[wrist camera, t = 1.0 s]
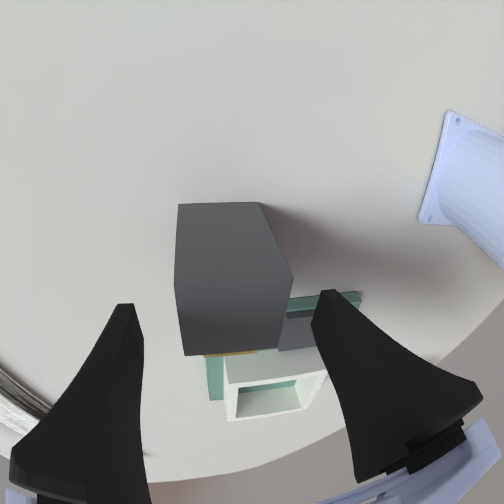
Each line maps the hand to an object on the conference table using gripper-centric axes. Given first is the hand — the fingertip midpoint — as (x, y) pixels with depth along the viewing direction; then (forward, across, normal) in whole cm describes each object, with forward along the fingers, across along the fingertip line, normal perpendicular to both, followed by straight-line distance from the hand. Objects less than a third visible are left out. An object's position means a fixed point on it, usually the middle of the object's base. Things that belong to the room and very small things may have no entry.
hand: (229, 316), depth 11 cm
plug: (+6, 0, 0) cm, 6 cm away
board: (+6, -5, +11) cm, 13 cm away
